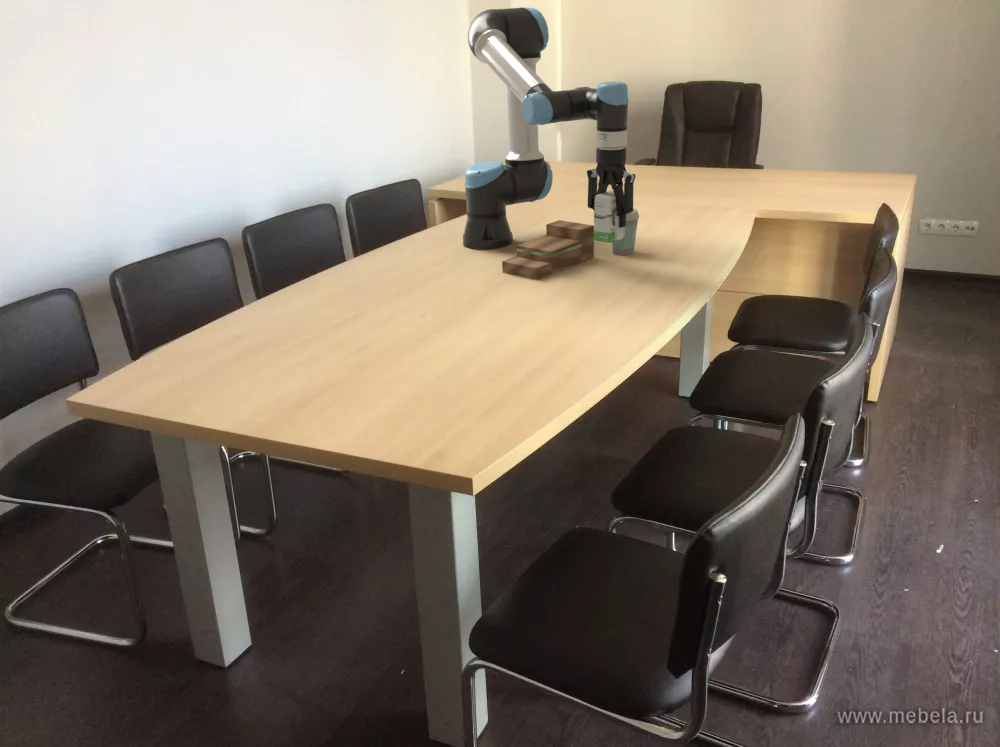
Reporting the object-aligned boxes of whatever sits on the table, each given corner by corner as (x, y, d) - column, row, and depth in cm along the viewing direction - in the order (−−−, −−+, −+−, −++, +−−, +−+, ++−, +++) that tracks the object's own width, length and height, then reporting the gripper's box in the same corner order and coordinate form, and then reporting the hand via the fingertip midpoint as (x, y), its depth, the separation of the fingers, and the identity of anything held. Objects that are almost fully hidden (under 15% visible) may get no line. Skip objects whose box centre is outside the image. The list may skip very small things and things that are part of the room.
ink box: (609, 243, 217) (610, 198, 212) (592, 241, 220) (593, 196, 215) (625, 235, 223) (627, 191, 218) (609, 233, 226) (610, 189, 221)
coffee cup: (637, 256, 233) (638, 213, 229) (606, 256, 235) (607, 213, 230) (639, 248, 241) (640, 207, 236) (609, 248, 243) (609, 207, 238)
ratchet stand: (502, 272, 226) (500, 239, 222) (559, 251, 242) (559, 220, 239) (537, 279, 218) (536, 245, 214) (594, 257, 235) (594, 225, 231)
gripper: (573, 146, 215) (572, 235, 224) (633, 152, 204) (630, 246, 213) (590, 141, 220) (589, 229, 230) (650, 148, 209) (646, 239, 218)
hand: (609, 237), depth 221 cm, fingers closed on ink box, 5 cm apart
